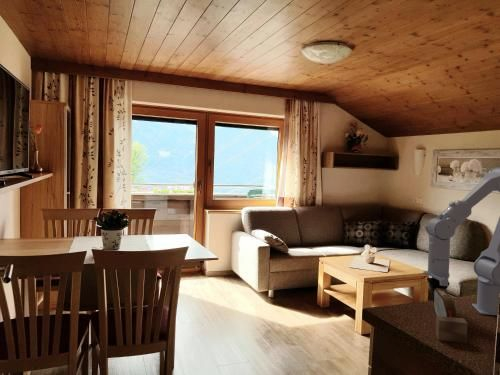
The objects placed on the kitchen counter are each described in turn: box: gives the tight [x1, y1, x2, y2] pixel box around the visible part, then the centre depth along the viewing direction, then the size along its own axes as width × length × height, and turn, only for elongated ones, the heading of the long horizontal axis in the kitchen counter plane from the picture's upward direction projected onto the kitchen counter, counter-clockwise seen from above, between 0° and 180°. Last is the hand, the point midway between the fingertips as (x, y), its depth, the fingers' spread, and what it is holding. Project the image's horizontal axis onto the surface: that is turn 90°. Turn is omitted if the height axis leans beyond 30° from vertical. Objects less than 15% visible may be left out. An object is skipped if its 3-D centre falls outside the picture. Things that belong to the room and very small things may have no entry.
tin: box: [433, 288, 458, 318], centre depth 105 cm, size 15×3×8 cm, turn 166°
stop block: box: [435, 315, 468, 344], centre depth 94 cm, size 6×3×5 cm, turn 77°
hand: (436, 302), depth 114 cm, fingers closed
